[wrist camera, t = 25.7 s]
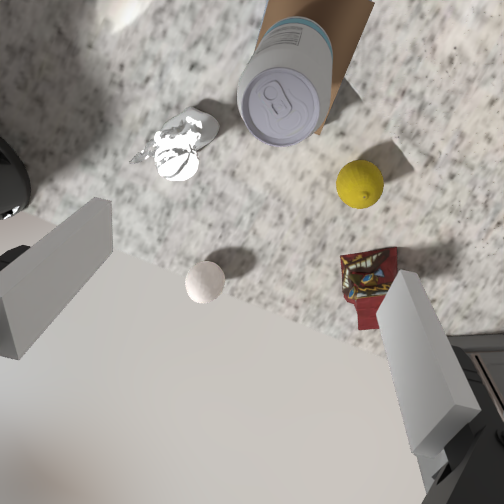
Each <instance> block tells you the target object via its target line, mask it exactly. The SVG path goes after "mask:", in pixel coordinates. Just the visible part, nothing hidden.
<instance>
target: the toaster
mask: <svg viewBox="0 0 504 504" xmlns="http://www.w3.org/2000/svg"><path fill="white" fill-rule="evenodd" d="M447 338H448V340H449V342H450V345H453V346H457V347H461V349H462V350H463V351H464V352H465V353H466V354H467V355H468V356H469V357H470V359H471V360H472V362H473V364H474V366H475V368H476V370H477V374H479V375H480V377H481V379H482V381H483V385H485V387H486V389H487V391H488V393H489V395H490V397H491V399H492V401H493V403H494V405H495V407H496V409H497V411H498V413H499V415H500V416H501V418H502V420H503V422H504V334H491V335H471V336H450V337H447ZM414 455H415V456H417V460H418V464H419V467H420V471H421V475H422V479H423V483H424V486H425V490H426V494H427V493H428V491H429V490H430V488H431V486H432V484H433V482H434V481H435V480H434V479H433V478H432V476H433V475H434V474H435V473H436V472H437V471H438V470H439V469H440V468H441V467H442V466H443V465H444V464H445V463H447V462H448V459H447V456H446V453H445V450H444V449H443V450H442V451H441V452H440V453H439V454H438V455H437V456H436V457H435V458H431V457H427V456H423V455H419V454H414Z"/></svg>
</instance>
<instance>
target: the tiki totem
mask: <svg viewBox="0 0 504 504" xmlns="http://www.w3.org/2000/svg"><path fill="white" fill-rule="evenodd" d="M340 259H341V269H342V290H343V293H344V298H345V299H346V301H347V302H349V303H352V304H354V306H355V308H356V311H357V314H358V330H368V329H380V328H379V324H378V320H377V316H376V313H377V311H378V309H379V307H380V305H381V303H382V302H383V300H384V298H385V296H386V294H387V292H388V291H389V289H390V287H391V285H392V283H393V281H394V279H395V278H396V276H397V274H398V270H397V247H394V248H387V249H381V250H374V251H368V252H361V253H355V254H348V255H342V256H340Z"/></svg>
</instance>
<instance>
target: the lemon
mask: <svg viewBox="0 0 504 504" xmlns="http://www.w3.org/2000/svg"><path fill="white" fill-rule="evenodd" d="M383 187H384V181H383V176H382V174H381V171H380V170H379V169H378V168H377V166H375V165H374V164H373V163H371V162H368V161H366V160H356V161H352V162H350V163H348V164H347V165H345V166H344V167H343V168H342V169H341V171H340V172H339V174H338V177H337V181H336V188H337V192H338V195H339V197H340V198H341V200H342V201H343V202H344V203H345V204H347V205H348V206H350V207H352V208H357V209H363V208H368V207H370V206H372V205H373V204H375V203H376V202H377V201H378V199H379V198H380V197H381V195H382V192H383Z"/></svg>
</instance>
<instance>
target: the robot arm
mask: <svg viewBox="0 0 504 504" xmlns="http://www.w3.org/2000/svg"><path fill="white" fill-rule="evenodd" d="M30 193H31V186H30V180H29V176H28V174H27V171H26V169H25V167H24V165H23V163H22V161H21V160H20V158H19V156H18V155H17V154H16V152H15V151H14V150H13V149H12V148H11V147H10V146H9V144H8V143H6V142H5V141H4V140H3V139H2V138H1V137H0V220H2V219H6V218H9V217H12V216H14V215H15V214H17V213H19V212H20V211H22V210H23V209H24V208H25V207H26V205H27V204H28V201H29V199H30ZM112 252H113V236H112V205H111V201H109V200H105V199H101V198H97V197H94V198H93V199H91V200H90V201H89V202H88V203H86V204H85V205H84V206H82V207H81V208H80V209H79V210H77V211H76V212H75V213H74V214H72V215H71V216H70V217H69V218H67V219H66V220H65V221H63V222H62V223H61V224H60V225H58V226H57V227H56V228H55V229H53V230H52V231H51V232H50V233H48V234H47V235H46V236H44V237H43V238H42V239H41V240H39V241H38V242H37V243H36V244H34V245H33V246H32V247H30V246H26V245H21V246H18V247H16V248H13V249H11V250H8V251H7V252H5V253H4V254H2V255H1V256H0V356H3V357H7V358H11V359H16V360H20V359H21V357H22V356H23V355H24V354H25V352H27V350H28V349H29V348H30V347H31V346H32V345H33V344H34V342H35V341H36V340H37V339H38V338H39V337H40V335H41V334H42V333H43V332H44V331H45V330H46V329H47V327H48V326H49V325H50V324H51V323H52V321H53V320H54V319H55V318H56V317H57V316H58V315H59V314H60V312H61V311H62V310H63V309H64V308H65V306H66V305H67V304H68V303H69V302H70V301H71V300H72V299H73V297H74V296H75V295H76V294H77V293H78V292H79V290H80V289H81V288H82V287H83V286H84V285H85V283H86V282H87V281H88V280H89V279H90V278H91V277H92V275H93V274H94V273H95V272H96V271H97V269H98V268H99V267H100V266H101V265H102V264H103V263H104V262H105V260H106V259H107V258H108V257H109V256H110V255H111V254H112ZM376 316H377V320H378V324H379V328H380V332H381V336H382V340H383V344H384V347H385V351H386V355H387V359H388V363H389V367H390V371H391V375H392V379H393V383H394V386H395V390H396V394H397V398H398V402H399V406H400V410H401V414H402V417H403V422H404V425H405V429H406V433H407V437H408V441H409V445H410V449H411V453H414V454H419V455H423V456H427V457H431V458H435V457H436V456H437V455H438V454H439V453H440V452H441V451H442V450H443V449H444V450H445V453H446V456H447V459H448V462H447V463H445V464H444V465H443V466H442V467H441V468H440V469H439V470H438V471H437V472H436V473H435V474H434V475H433V476H432V478H433V479H434V480H435V481H434V482H433V484H432V486H431V488H430V490H429V491H428V493H427V495H426V497H425V498H424V500H423V502H422V504H504V422H503V420H502V418H501V416H500V415H499V413H498V411H497V409H496V407H495V405H494V403H493V401H492V399H491V397H490V395H489V393H488V391H487V389H486V387H485V385H483V381H482V379H481V377H480V375H479V374H477V370H476V368H475V366H474V364H473V362H472V360H471V359H470V357H469V356H468V355H467V354H466V353H465V352H464V351H463V350H462V349H461V347H457V346H453V345H450V342H449V340H448V338H447V336H446V334H445V332H444V330H443V328H442V325H441V323H440V321H439V319H438V317H437V315H436V313H435V311H434V308H433V306H432V304H431V302H430V300H429V298H428V296H427V294H426V291H425V289H424V287H423V285H422V283H421V281H420V279H419V277H418V274H417V273H414V272H410V271H406V270H402V269H400V270H399V272H398V274H397V276H396V278H395V279H394V281H393V283H392V285H391V287H390V289H389V291H388V292H387V294H386V296H385V298H384V300H383V302H382V303H381V305H380V307H379V309H378V311H377V313H376Z"/></svg>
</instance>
